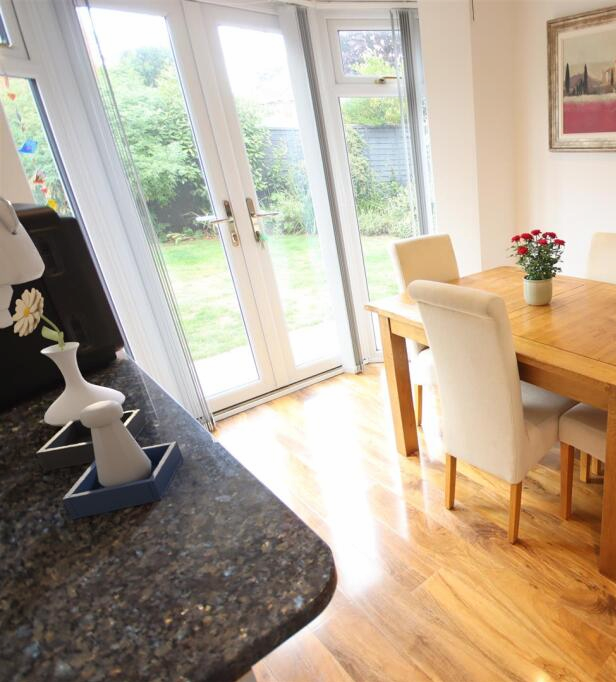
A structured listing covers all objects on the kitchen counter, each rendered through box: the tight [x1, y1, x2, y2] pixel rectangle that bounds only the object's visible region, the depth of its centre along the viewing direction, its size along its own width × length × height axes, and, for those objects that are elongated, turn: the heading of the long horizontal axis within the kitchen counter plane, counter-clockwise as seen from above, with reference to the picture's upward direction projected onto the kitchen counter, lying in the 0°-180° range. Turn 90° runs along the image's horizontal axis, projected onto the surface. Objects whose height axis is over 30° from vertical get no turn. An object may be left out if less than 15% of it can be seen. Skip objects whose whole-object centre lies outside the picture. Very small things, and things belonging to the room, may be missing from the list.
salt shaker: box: [80, 400, 151, 488], centre depth 63 cm, size 6×6×13 cm
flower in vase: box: [11, 287, 126, 427], centre depth 80 cm, size 13×11×25 cm
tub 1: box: [35, 408, 147, 472], centre depth 75 cm, size 10×10×3 cm
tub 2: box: [61, 441, 184, 520], centre depth 65 cm, size 10×10×3 cm
